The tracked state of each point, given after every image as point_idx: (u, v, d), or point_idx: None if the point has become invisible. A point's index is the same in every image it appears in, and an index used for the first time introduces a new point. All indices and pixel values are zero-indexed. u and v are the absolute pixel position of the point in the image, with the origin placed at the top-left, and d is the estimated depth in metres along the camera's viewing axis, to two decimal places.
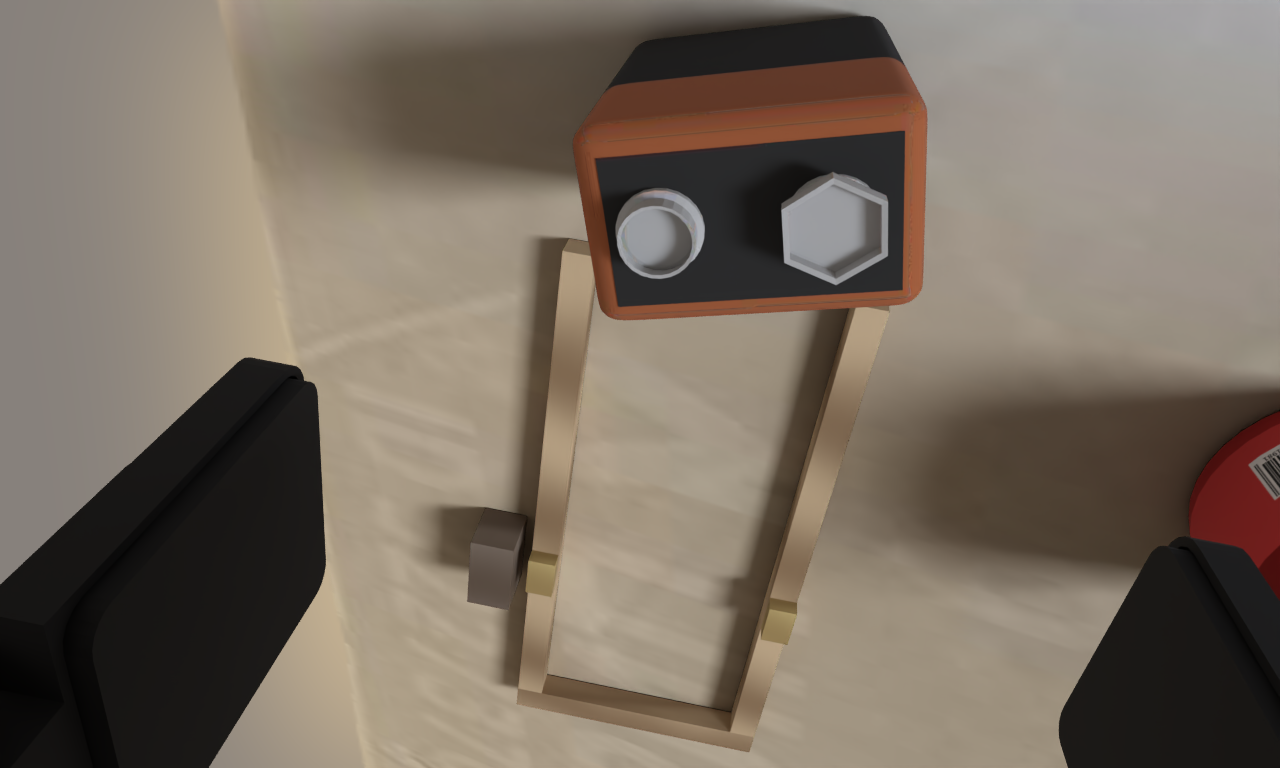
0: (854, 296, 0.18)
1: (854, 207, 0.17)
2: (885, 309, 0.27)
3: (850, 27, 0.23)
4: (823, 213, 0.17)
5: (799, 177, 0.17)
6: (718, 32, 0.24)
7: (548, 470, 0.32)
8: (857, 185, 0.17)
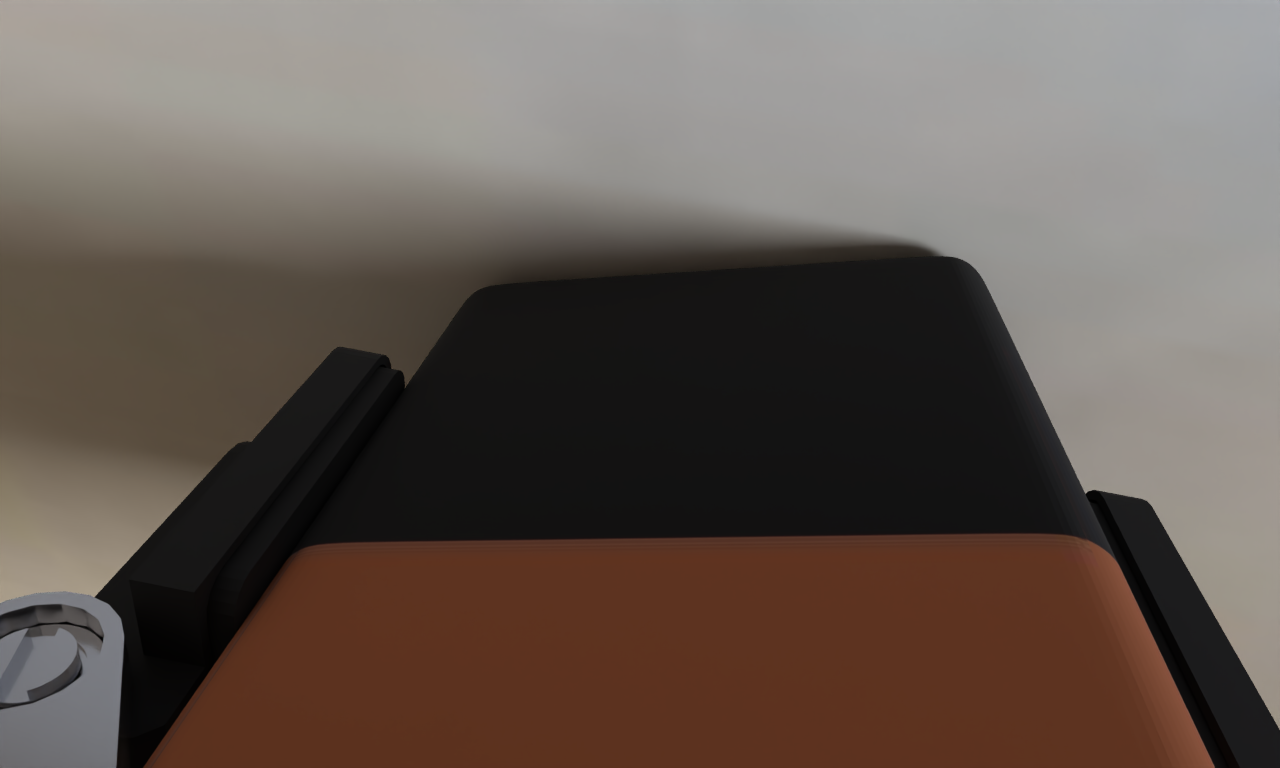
0: None
1: None
2: None
3: (919, 311, 0.10)
4: None
5: None
6: (632, 278, 0.12)
7: None
8: None
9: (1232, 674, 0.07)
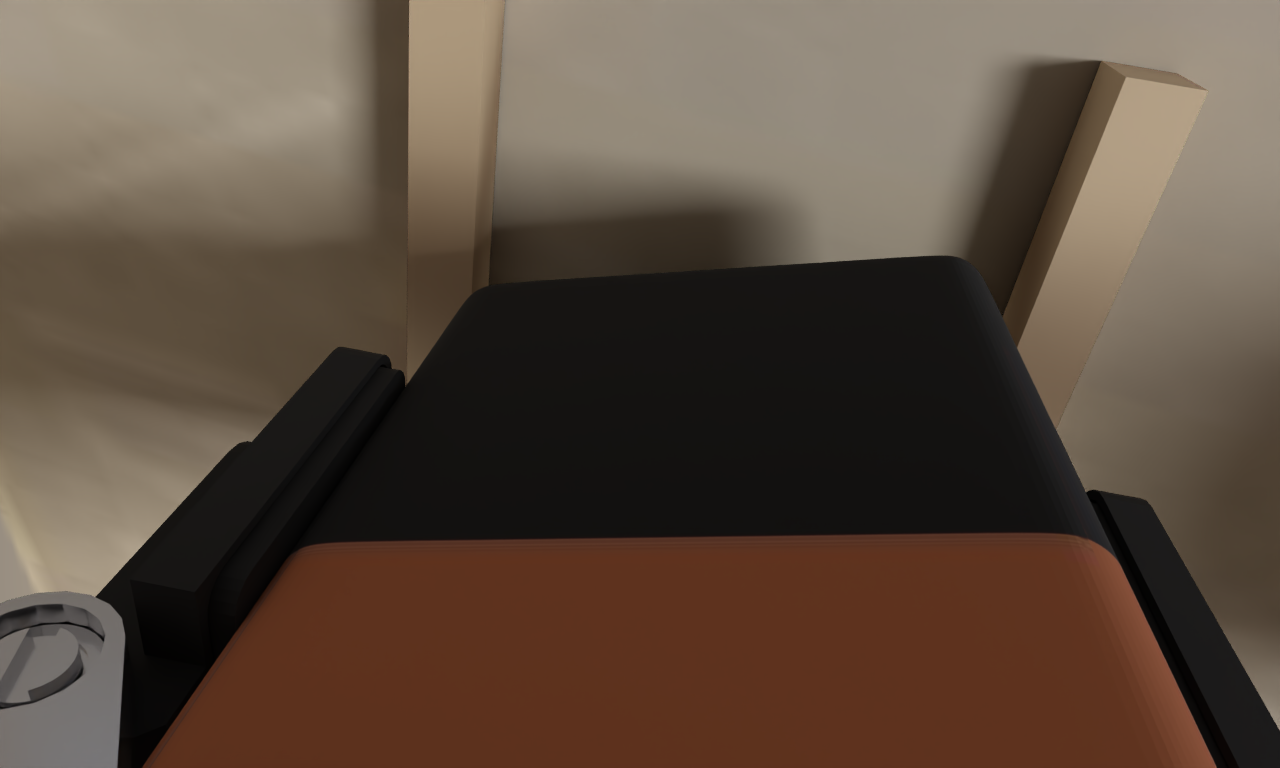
0: None
1: None
2: (1195, 87, 0.11)
3: (919, 310, 0.10)
4: None
5: None
6: (632, 278, 0.12)
7: None
8: None
9: (1232, 674, 0.07)
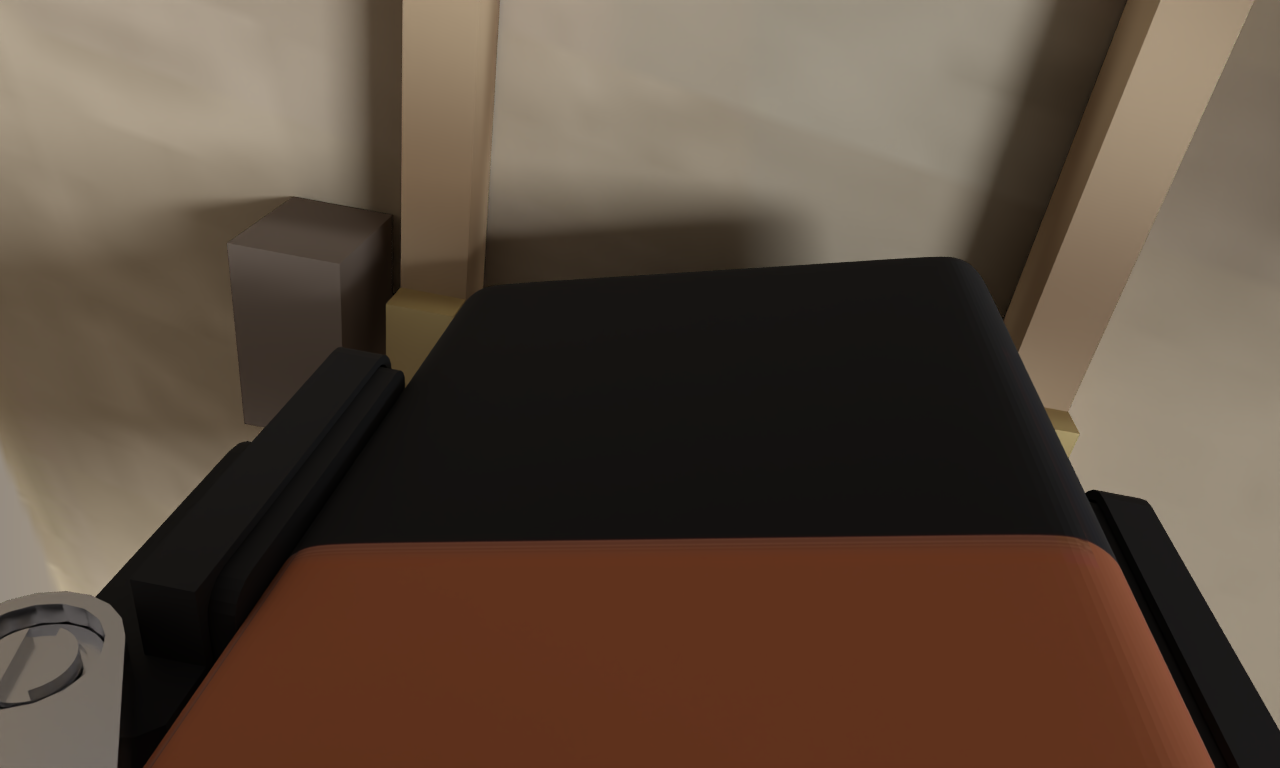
0: None
1: None
2: None
3: (919, 311, 0.10)
4: None
5: None
6: (632, 279, 0.12)
7: (424, 22, 0.12)
8: None
9: (1231, 674, 0.07)
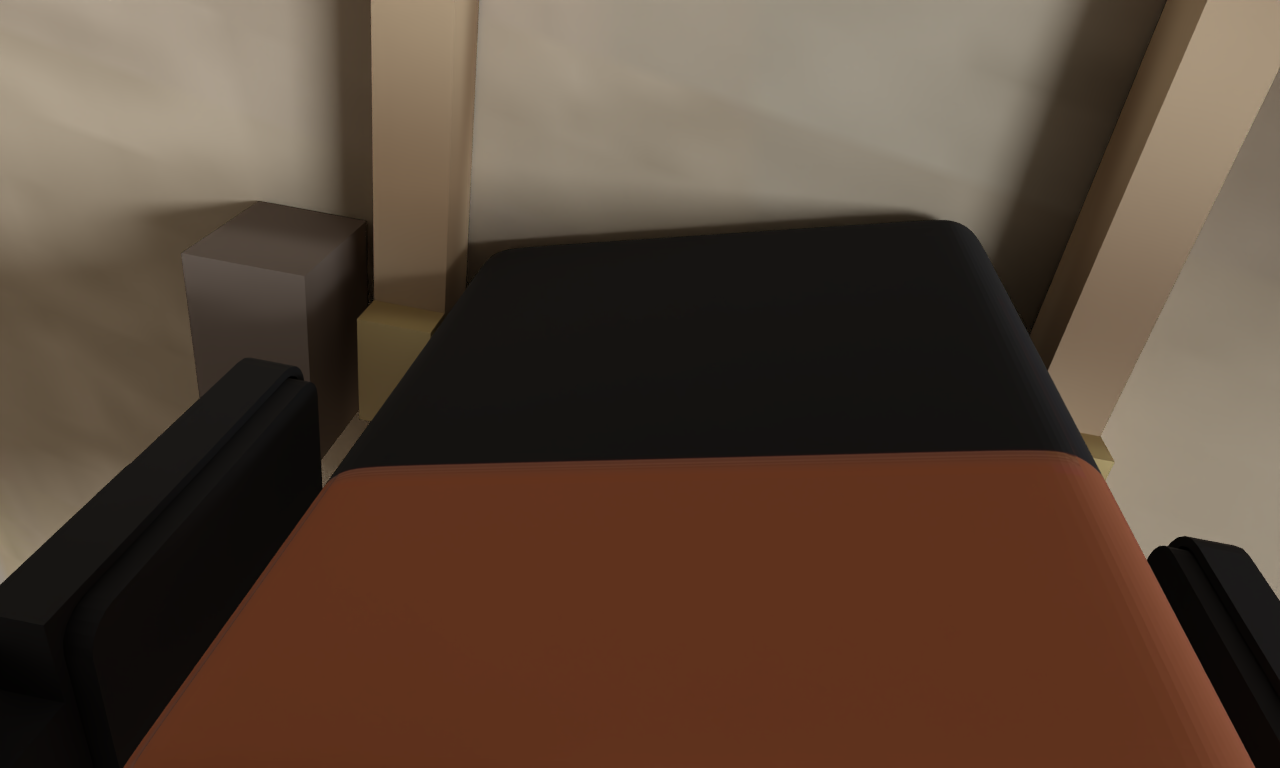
0: None
1: None
2: None
3: (919, 266, 0.10)
4: None
5: None
6: (644, 241, 0.12)
7: (395, 10, 0.11)
8: None
9: None
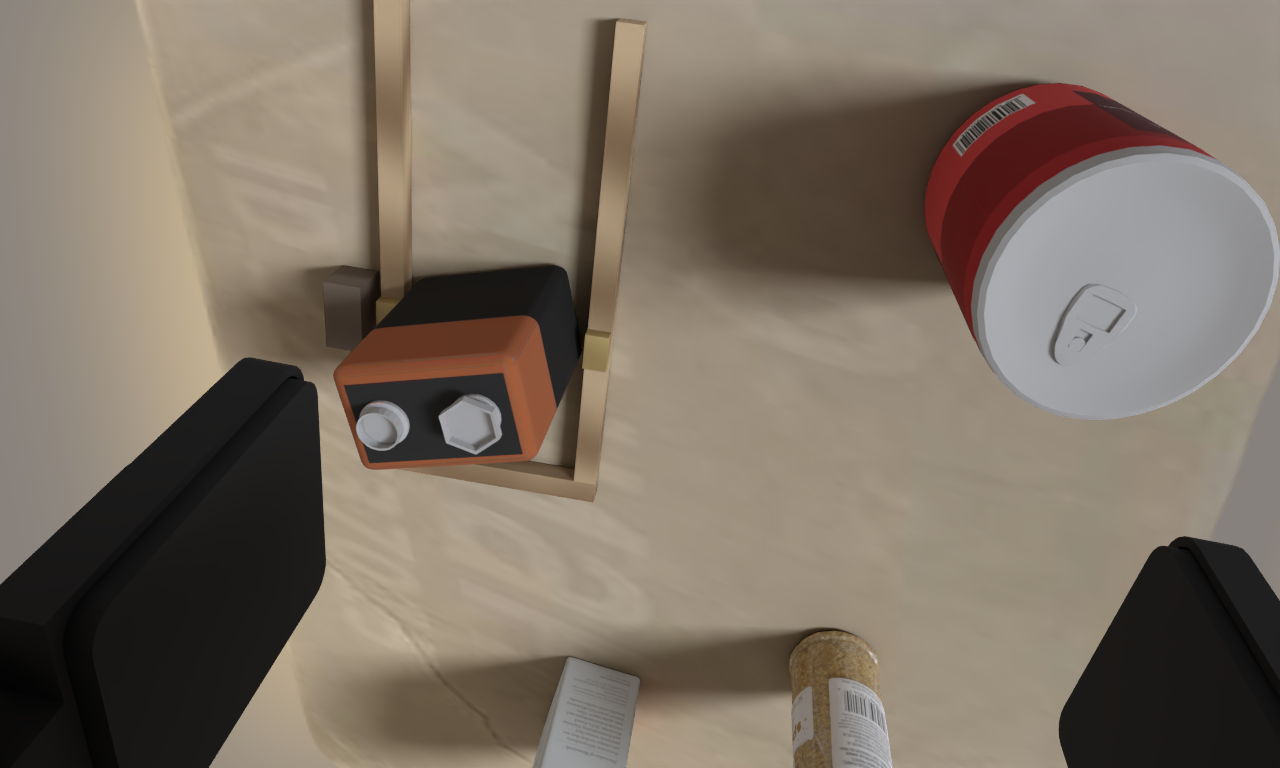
0: (497, 457, 0.32)
1: (480, 413, 0.31)
2: (640, 24, 0.33)
3: (534, 279, 0.37)
4: (464, 416, 0.31)
5: (453, 395, 0.31)
6: (466, 275, 0.39)
7: (385, 210, 0.37)
8: (477, 403, 0.31)
9: None
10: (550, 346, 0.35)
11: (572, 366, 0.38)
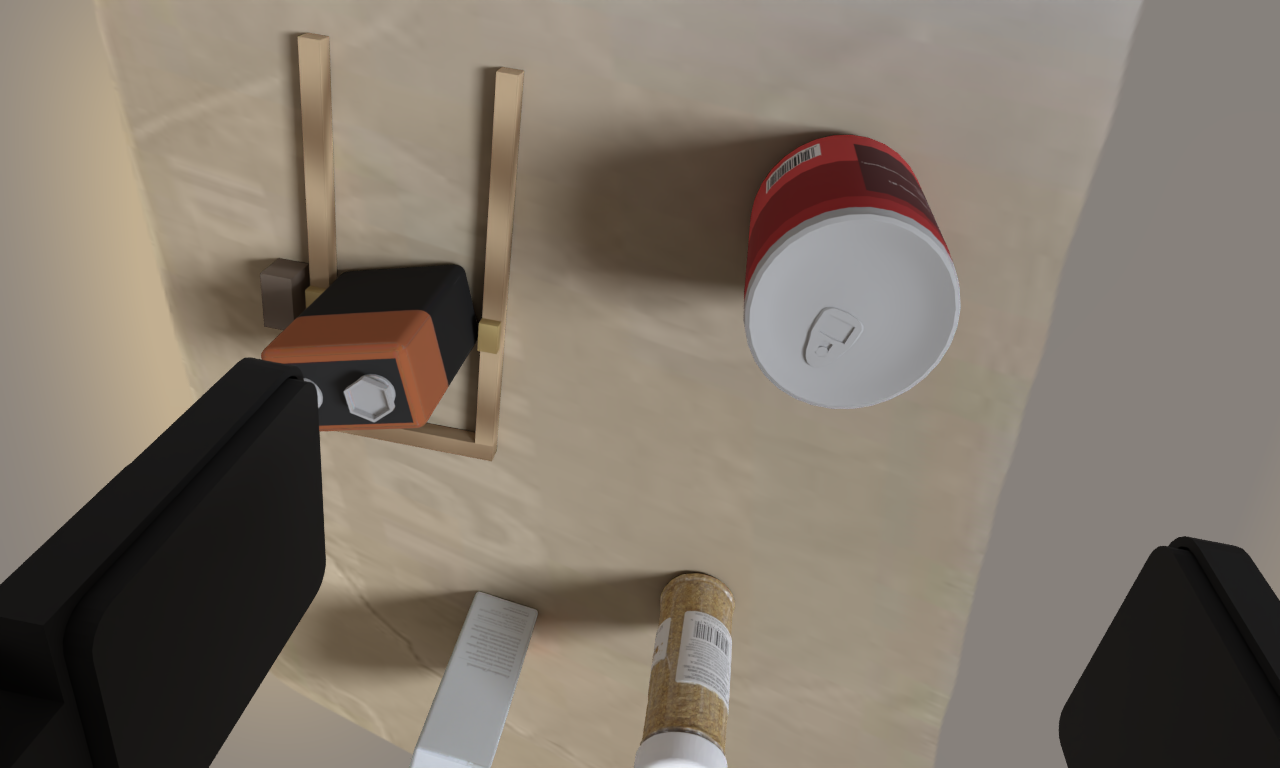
0: (393, 424, 0.40)
1: (376, 389, 0.39)
2: (516, 74, 0.40)
3: (435, 277, 0.44)
4: (365, 391, 0.39)
5: (357, 374, 0.39)
6: (381, 270, 0.46)
7: (312, 216, 0.45)
8: (374, 382, 0.38)
9: None
10: (442, 334, 0.43)
11: (467, 349, 0.46)
